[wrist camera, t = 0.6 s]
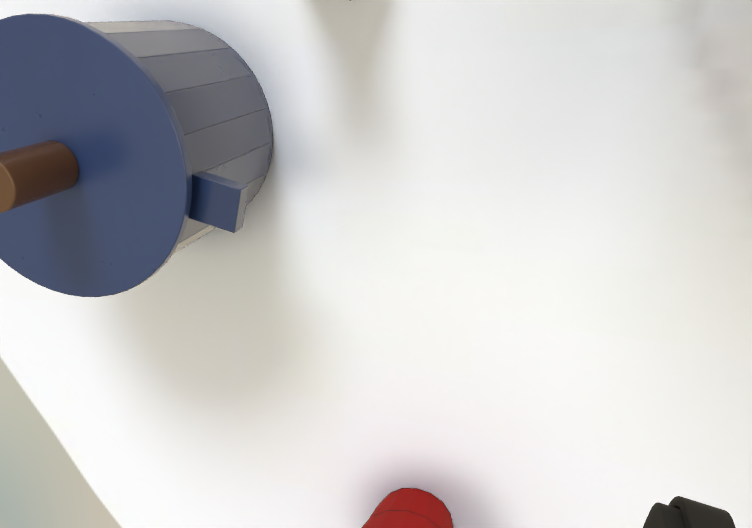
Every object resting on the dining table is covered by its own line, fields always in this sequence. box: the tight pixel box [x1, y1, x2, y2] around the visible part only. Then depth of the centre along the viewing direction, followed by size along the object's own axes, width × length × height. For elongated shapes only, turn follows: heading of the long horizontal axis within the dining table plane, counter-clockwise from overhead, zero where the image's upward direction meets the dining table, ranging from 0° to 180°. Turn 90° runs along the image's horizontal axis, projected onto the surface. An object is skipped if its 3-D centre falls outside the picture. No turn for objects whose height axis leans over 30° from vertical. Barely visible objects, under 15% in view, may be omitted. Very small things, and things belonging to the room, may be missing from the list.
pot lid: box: [0, 14, 192, 297], centre depth 34 cm, size 15×15×6 cm
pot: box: [85, 21, 273, 255], centre depth 41 cm, size 14×19×12 cm
